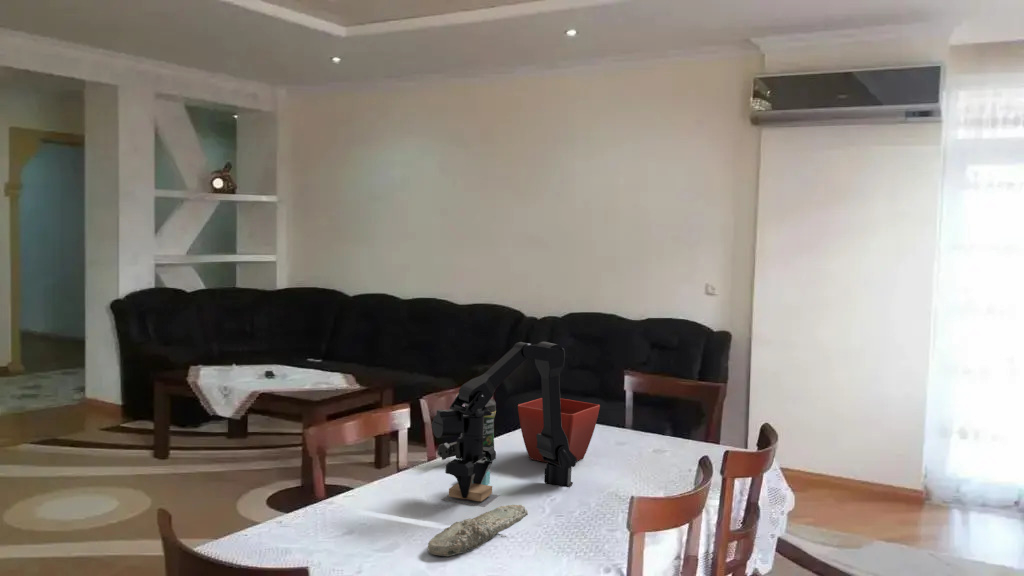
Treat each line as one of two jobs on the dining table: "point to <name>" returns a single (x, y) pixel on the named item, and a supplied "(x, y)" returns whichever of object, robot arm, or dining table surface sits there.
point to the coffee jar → (489, 425)
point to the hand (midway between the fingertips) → (470, 493)
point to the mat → (471, 502)
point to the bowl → (486, 479)
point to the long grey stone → (475, 530)
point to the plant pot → (574, 424)
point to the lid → (472, 492)
